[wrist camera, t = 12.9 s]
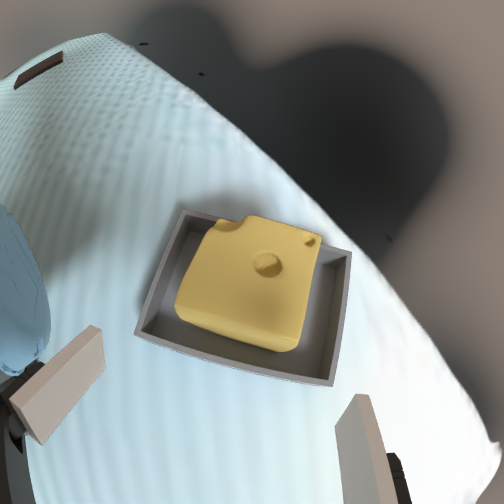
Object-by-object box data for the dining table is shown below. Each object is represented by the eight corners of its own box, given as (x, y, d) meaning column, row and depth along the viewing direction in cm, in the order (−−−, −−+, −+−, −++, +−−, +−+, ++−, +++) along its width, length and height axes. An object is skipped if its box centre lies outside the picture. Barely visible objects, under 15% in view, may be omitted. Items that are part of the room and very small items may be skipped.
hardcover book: (20, 79, 63) (18, 75, 61) (63, 54, 70) (62, 50, 68) (15, 91, 58) (13, 87, 56) (63, 62, 65) (61, 58, 63)
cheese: (218, 248, 33) (215, 198, 24) (303, 274, 33) (330, 233, 24) (187, 328, 29) (167, 305, 20) (281, 358, 28) (305, 349, 19)
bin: (146, 340, 28) (133, 334, 24) (187, 228, 35) (182, 209, 31) (318, 386, 27) (332, 386, 23) (338, 267, 34) (351, 252, 30)
